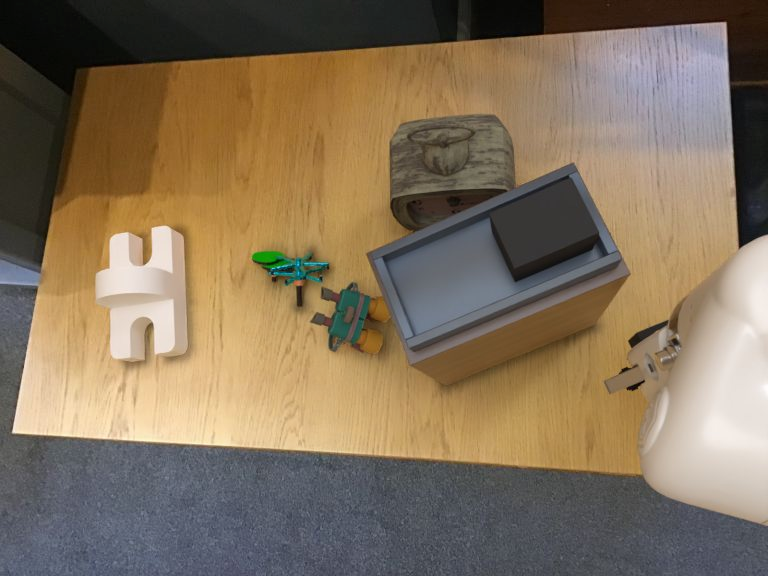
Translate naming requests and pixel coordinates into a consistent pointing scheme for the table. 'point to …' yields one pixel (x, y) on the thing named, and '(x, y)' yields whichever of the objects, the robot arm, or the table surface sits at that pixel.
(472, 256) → the brown and grey box
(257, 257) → the stick construction toy
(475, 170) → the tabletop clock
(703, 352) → the robot arm
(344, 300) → the binoculars
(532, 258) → the dark grey block
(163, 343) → the white slotted bracket
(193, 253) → the table surface
